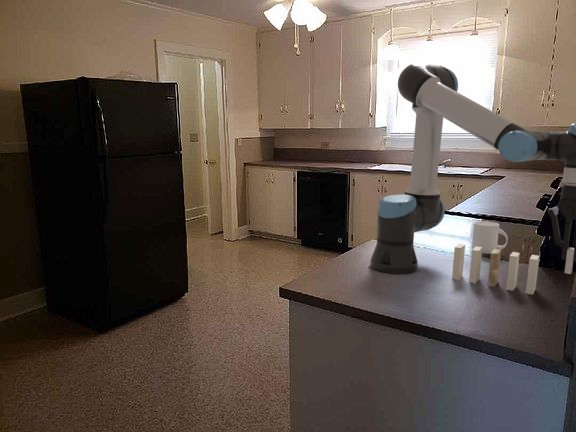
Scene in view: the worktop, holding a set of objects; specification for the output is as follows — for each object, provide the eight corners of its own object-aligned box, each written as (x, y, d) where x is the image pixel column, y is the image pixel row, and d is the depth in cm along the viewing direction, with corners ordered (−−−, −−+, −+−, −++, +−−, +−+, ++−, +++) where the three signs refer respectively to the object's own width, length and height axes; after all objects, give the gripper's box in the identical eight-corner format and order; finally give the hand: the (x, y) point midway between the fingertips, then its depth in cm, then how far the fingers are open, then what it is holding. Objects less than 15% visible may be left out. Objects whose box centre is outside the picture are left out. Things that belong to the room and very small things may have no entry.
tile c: (506, 289, 124) (509, 255, 122) (509, 284, 128) (512, 251, 126) (513, 290, 123) (516, 256, 121) (516, 285, 127) (519, 252, 125)
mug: (503, 257, 156) (506, 228, 154) (468, 251, 163) (471, 223, 161) (508, 252, 162) (511, 224, 160) (475, 247, 170) (477, 220, 168)
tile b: (469, 282, 130) (472, 249, 128) (473, 277, 134) (476, 246, 132) (475, 283, 129) (478, 250, 127) (479, 279, 132) (482, 247, 131)
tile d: (525, 293, 121) (529, 258, 119) (528, 288, 125) (532, 254, 123) (532, 294, 120) (537, 259, 118) (535, 289, 124) (539, 255, 122)
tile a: (452, 278, 132) (454, 247, 130) (456, 274, 136) (459, 243, 134) (458, 280, 131) (460, 248, 129) (462, 275, 135) (465, 244, 133)
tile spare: (487, 285, 127) (491, 252, 125) (491, 281, 131) (494, 249, 129) (494, 287, 126) (497, 253, 124) (497, 282, 130) (501, 250, 128)
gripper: (548, 184, 113) (538, 271, 117) (610, 187, 105) (597, 280, 110) (551, 181, 119) (541, 264, 123) (610, 185, 111) (598, 273, 116)
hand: (568, 272), depth 116 cm, fingers closed
